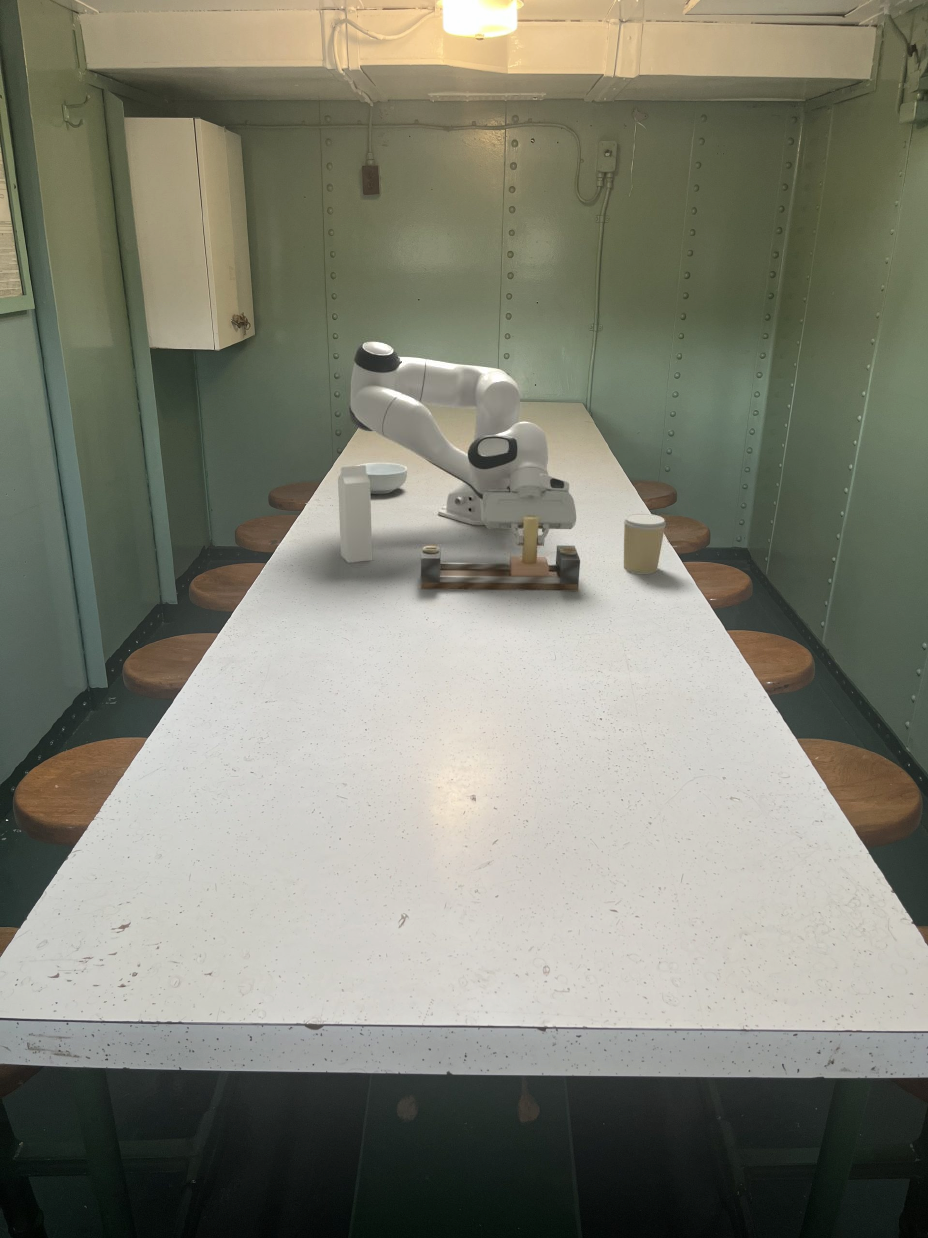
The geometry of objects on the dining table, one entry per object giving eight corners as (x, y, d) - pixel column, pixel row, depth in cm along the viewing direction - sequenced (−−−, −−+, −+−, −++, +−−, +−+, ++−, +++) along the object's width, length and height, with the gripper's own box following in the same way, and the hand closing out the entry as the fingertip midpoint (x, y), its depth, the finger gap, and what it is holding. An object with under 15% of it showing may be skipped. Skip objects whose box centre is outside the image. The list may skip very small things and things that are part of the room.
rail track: (421, 588, 190) (421, 554, 187) (423, 573, 199) (422, 540, 196) (578, 590, 190) (580, 556, 187) (572, 574, 199) (574, 542, 196)
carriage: (511, 579, 191) (513, 522, 186) (509, 568, 197) (511, 512, 192) (548, 580, 191) (551, 522, 186) (545, 569, 197) (548, 513, 192)
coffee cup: (663, 564, 207) (668, 515, 202) (657, 577, 199) (663, 526, 194) (623, 559, 210) (627, 511, 205) (616, 572, 201) (621, 521, 197)
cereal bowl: (411, 485, 273) (411, 462, 270) (402, 499, 258) (402, 475, 255) (357, 483, 274) (356, 460, 272) (345, 496, 259) (344, 473, 256)
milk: (372, 560, 207) (370, 468, 198) (347, 563, 205) (344, 470, 196) (364, 552, 212) (362, 462, 203) (340, 555, 210) (337, 464, 201)
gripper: (483, 481, 193) (482, 537, 188) (576, 482, 193) (578, 538, 188) (482, 495, 199) (482, 550, 193) (572, 496, 199) (574, 551, 194)
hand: (530, 544), depth 191 cm, fingers closed on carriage, 3 cm apart
